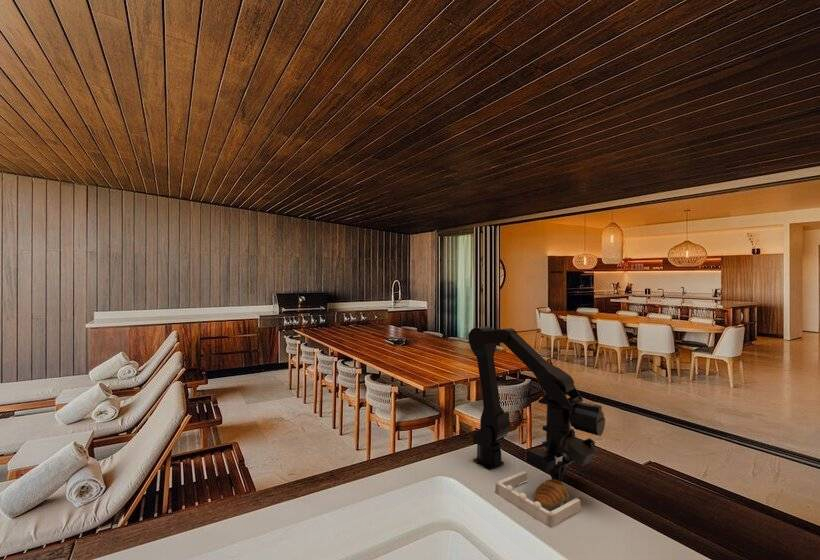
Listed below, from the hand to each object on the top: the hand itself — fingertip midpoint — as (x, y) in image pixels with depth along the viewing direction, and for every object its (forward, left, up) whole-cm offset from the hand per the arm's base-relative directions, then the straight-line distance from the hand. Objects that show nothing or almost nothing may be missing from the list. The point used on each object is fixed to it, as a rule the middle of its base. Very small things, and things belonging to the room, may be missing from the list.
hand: (557, 485), depth 96 cm
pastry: (+2, -5, -2) cm, 6 cm away
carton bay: (0, -8, -2) cm, 8 cm away
